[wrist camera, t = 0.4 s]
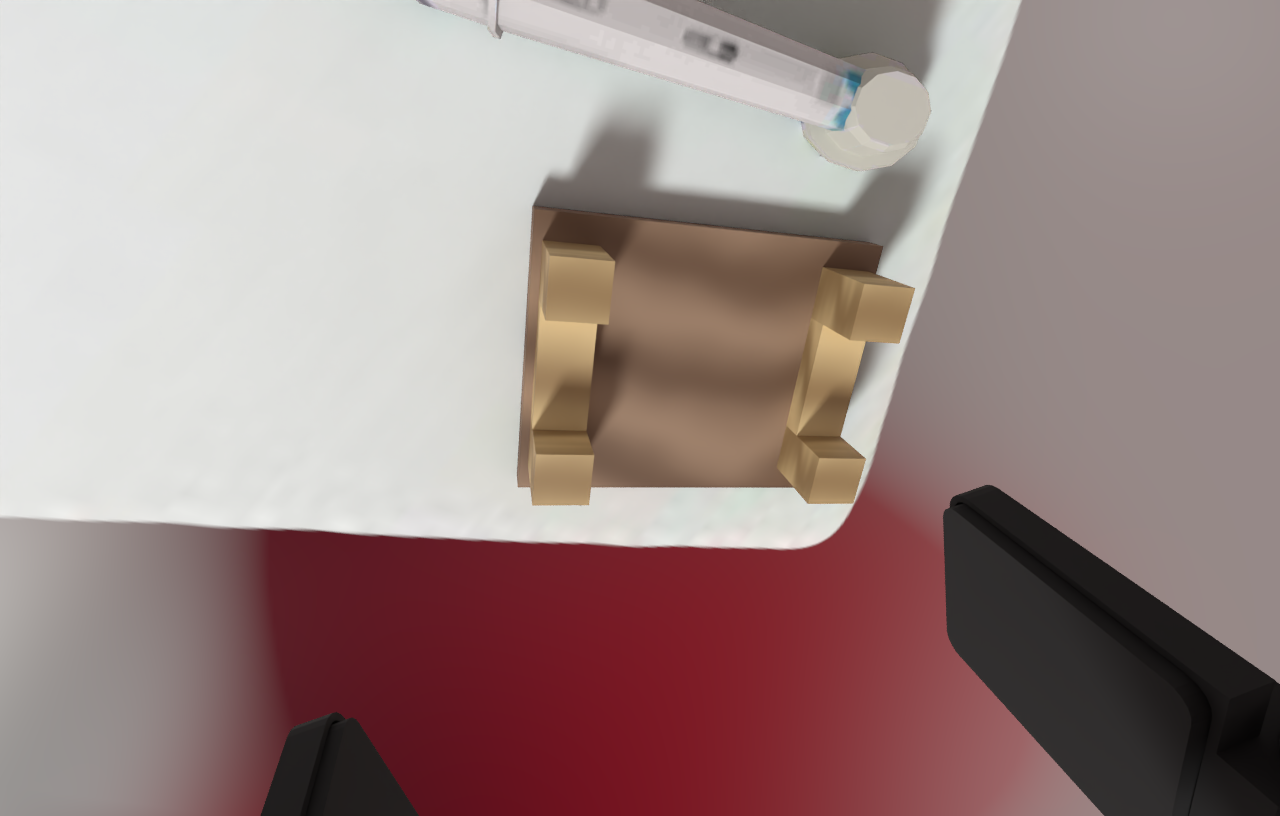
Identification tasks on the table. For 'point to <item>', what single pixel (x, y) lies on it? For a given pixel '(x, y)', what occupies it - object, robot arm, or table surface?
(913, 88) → the electric toothbrush handle
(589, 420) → the rack
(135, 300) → the table surface
